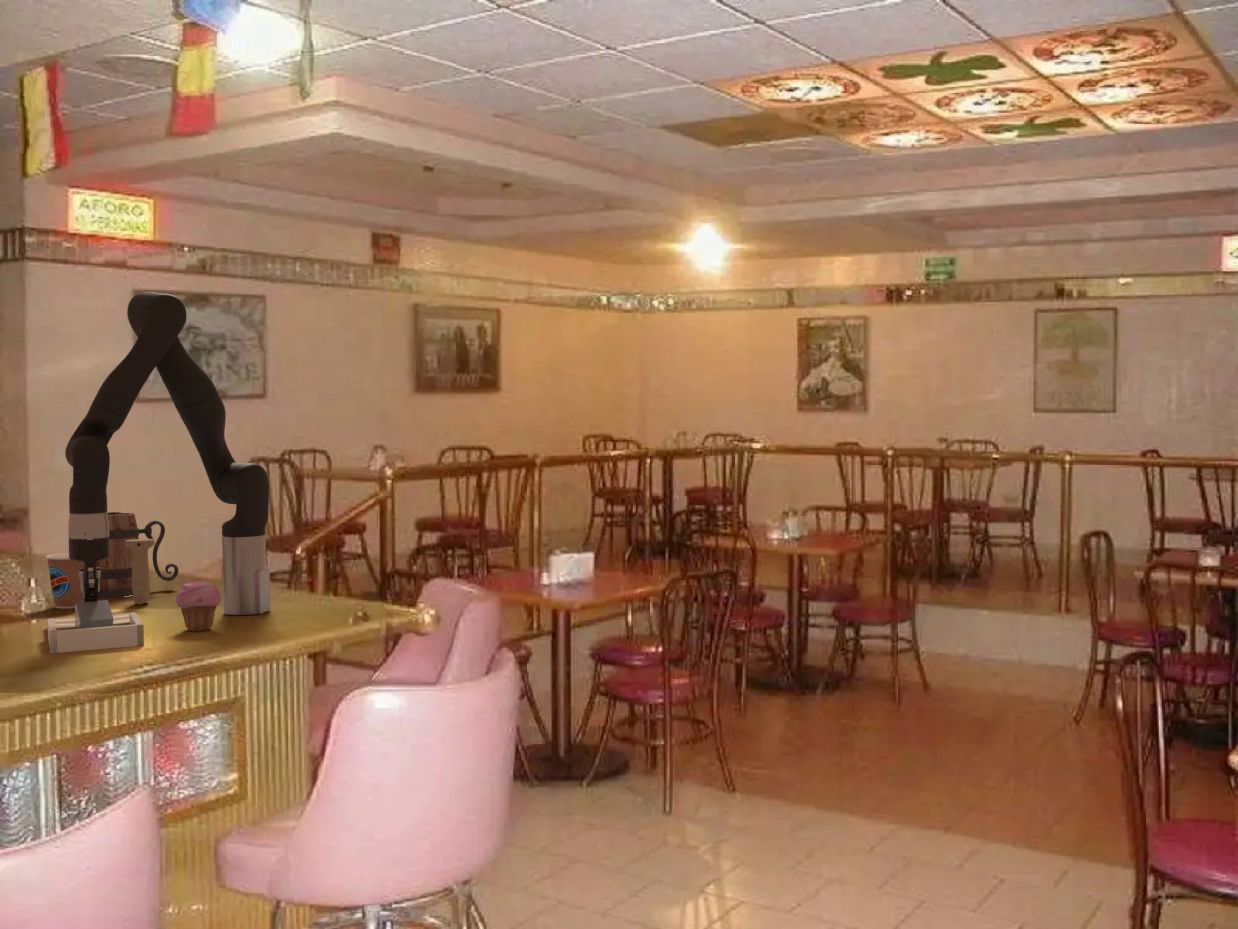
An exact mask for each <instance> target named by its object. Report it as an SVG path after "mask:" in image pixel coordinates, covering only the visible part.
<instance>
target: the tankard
mask: <svg viewBox="0 0 1238 929" xmlns="http://www.w3.org/2000/svg"><path fill="white" fill-rule="evenodd" d="M107 515H108V521H109V552H110V556H109V558H107V559H103V560H97V562H96V567H100V569H101V577H100V591H99V592H98V600H110V599H111V600H112V599H121V598H120V597H124V596H129V595H133V590H132V558H133V554H132V550H131V549H130V548H128V547H126V546H125V540H133V539H140V538H139V536H140V534H145V536H146V539H154V536H152V533H153V530H152V529H153V528H152V527H153V526H155V525H158V526H159V527H160V532H159V534H158V537H157V539H156V541H155V542H154V545H153V548H152V549H153V550H152V565H153V567H154V572H155V573H156V574H157V576H158V577H159V578H160V579H161V580H163V581H165V582H171V581H174V580H175V579H176V578H177V576H178V575H179V567H178V566H177V565H176V564H175V563H168V564H166V565H165V568H164V570H165V572H166V573H167V574H168V575H171V576H168V577H167V576H164V575H163V574H162V573H161V570H160V567H159V564H158V550H159V547H160V545H161V544H162V541H163V539H164V537H165V533H166V527H165V524H164V523H162V522H161V521H160V520H152V521H150V522H148V523H147V524H146V525H145V526H144V528H139V527H138V523H137V518H136V515H135V513H133V512H121V511H120V512H116V511H114V512H112V511H110V512H107ZM170 568H174V571H173V574H172V571H169V569H170Z"/></svg>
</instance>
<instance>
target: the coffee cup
mask: <svg viewBox="0 0 1238 929" xmlns="http://www.w3.org/2000/svg"><path fill="white" fill-rule="evenodd" d="M45 558H46V559H47V565H48V566H47V567H48V572H49V582H50V587H51V588H50V589H51V595H52V597H53V603H54V606H55V608H56V609H61V610H62V609H65V610H66V609H69V610H70V609H75V603H76V602H83V597H82V594H83V593H82V592H81V589H80V577H79V568H83V561H74V560H71V559H70V558H69V552H64V553H54V554H48V555H45Z"/></svg>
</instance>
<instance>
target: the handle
mask: <svg viewBox="0 0 1238 929" xmlns="http://www.w3.org/2000/svg"><path fill="white" fill-rule="evenodd" d="M154 545H155V539H154V538H153V539H148V538H139V539H133V540H125V546H126V547H128V548H130V549H131V550H132V554H133V558H132V590H133V596H134V597H133V602H134V605H136V604H137V605H139V604H140V603H147V602H148V601H149V602H150V597H149V596H150V594H151V593H150V591H151V579H150V578H151V576H150V566H149V554H148V553H149V549H150V548H152V547H154ZM149 602H148V603H149Z"/></svg>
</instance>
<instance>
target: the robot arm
mask: <svg viewBox="0 0 1238 929" xmlns="http://www.w3.org/2000/svg"><path fill="white" fill-rule="evenodd" d="M126 312H127V320H128V323H129V326H130V327H131V329H132V330H133V332H134V333H135V335H136V337H137V339H136V341H135V343H134V344H133V346H132V348H131V349H130V350H129V351H128V353H127V354H126V355H125V357H124V358H123V359H122V360H121V361H120V362H119V363H118V365H116V366H115V368H113V370H112V371H111V372H110V373H109V375H107V376H106V378H105V379H104V380H103V382H102V384H101V386H100V387H99V388H98V390H97V392H96V395H95V396H94V399H93V401H92V402H91V405H90V406H89V409H88V411H87V413H86V415H85V416H84V418H83V419H82V420H81V422H80V423H79V424H78V426H77V428H76V429H75V430H74V432H73V433H72V435H71V437H70V438H69V440H68V442H67V444H66V446H65V452H64V456H65V459H66V461H67V463H68V465H70V466H71V467H72V485H71V486H70V487H69V494H68V499H69V500H68V506H69V511H68V513H69V517H68V525H67V527H68V528H67V529H68V530H67V532H68V553H69V558H70V559H71V560H74V561H83V568H79V577H80V589H81V592H82V593H83V594H82V597H83V602H88V601H99V599H98V592H99V591H100V577H101V569H100V567H96V562H97V560H103V559H107V558H109V556H110V552H109V521H108V515H107V513H108V496H107V495H108V494H107V488H108V487H107V486H108V480H109V473H110V465H111V464H110V462H111V461H110V460H111V459H110V458H111V457H110V449H109V446H108V445H109V442H110V440H111V439H112V437H113V435H114V434H115V433H116V432H117V431H119V430H120V429H121V428H122V426H123V425H124V423H125V421H126V419H127V418H128V415H129V414H130V411H131V410H132V407H133V406H134V404H135V401H136V399H137V397H138V395H139V393H140V392H141V391H142V389H143V387H144V386H145V383H146V382H147V381H148V379H149V377H150V376H151V374H152V373H153V372H154V370H155V368H156V370H157V372H158V373H159V377H160V378H161V380H162V382H163V384H164V386H165V388H166V390H167V392H168V395H169V396H170V398H171V400H172V402H173V405H174V407H175V409H176V411H177V413H178V414H179V417H180V419H181V420H182V423H183V424H184V426H185V427H186V430H187V431H188V434H189V435H190V438H191V440H192V443H193V444H194V446H195V448H196V450H197V452H198V454H199V456H200V460H201V462H202V464H203V467H204V470H205V473H206V475H207V478H208V480H209V484H210V486H211V487H212V490H213V493H214V494H215V496H216V497H217V499H218V500H220V501H221V502H222V503H224V504H227V505H235V514H234V516H233V517H231V519H229V520H226V521H225V522H224V523H222V525H221V543H222V544H221V548H222V552H221V554H222V584H223V585H222V587H223V588H222V589H223V590H222V591H223V592H222V594H223V614H225V615H231V616H245V615H247V616H248V615H261V614H264V613H266V612H268V611H270V610H271V584H270V583H271V582H270V581H271V579H270V578H271V577H270V573H271V572H270V568H269V567H267V559H266V556H267V555H266V554H267V553H266V526H267V524H268V521H269V513H270V512H269V506H270V505H269V504H270V481H269V477H268V474H267V473H268V472H266V469H264V467H263V466H262V465H261V464H259V463H253V462H237V461H236V460H235V459H234V457H233V456H232V454H231V451H230V450H229V447H228V445H227V442H226V439H225V428H226V417H227V416H226V408H225V404H224V401H223V399H222V398H221V396H220V393H219V391H218V389H217V387H216V385H215V384H214V382H213V380H212V379H211V377H210V376H209V375H208V374H207V372H206V371H205V370H204V369H203V368H202V366H200V364H199V363H198V362H197V361H196V360H195V359H194V358H193V357H192V356H191V355H190V354H189V352H188V351H187V349H185V347H184V345H183V343H182V342H181V340H180V338H179V335H180V334H181V332H182V330H183V328H184V327H185V325H186V322H187V318H188V317H187V309H186V306H185V304H184V303H183V301H182V300H181V299H180V298H179V297H177V296H175V295H172V294H170V293H164V292H163V293H162V292H153V291H146V292H144V291H143V292H140V293H137V294H135V295H134V296H132V298H131V299H130V300H129V302H128V305H127V310H126Z"/></svg>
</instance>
